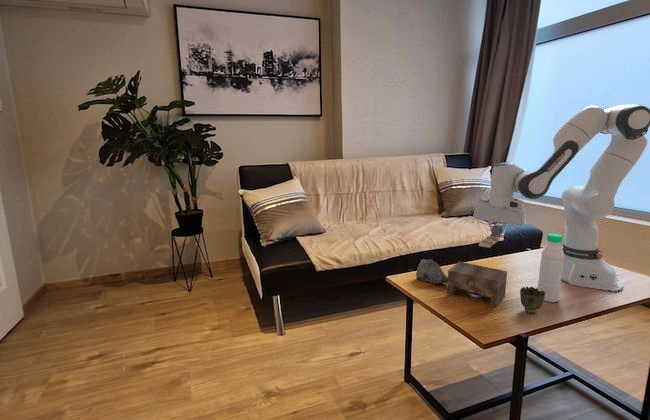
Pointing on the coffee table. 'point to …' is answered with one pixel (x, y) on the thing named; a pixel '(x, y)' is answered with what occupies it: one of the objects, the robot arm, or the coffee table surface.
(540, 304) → the cup
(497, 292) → the brown bridge block
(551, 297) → the water bottle
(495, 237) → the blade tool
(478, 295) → the steel disc
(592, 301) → the coffee table surface
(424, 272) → the mineral rock
